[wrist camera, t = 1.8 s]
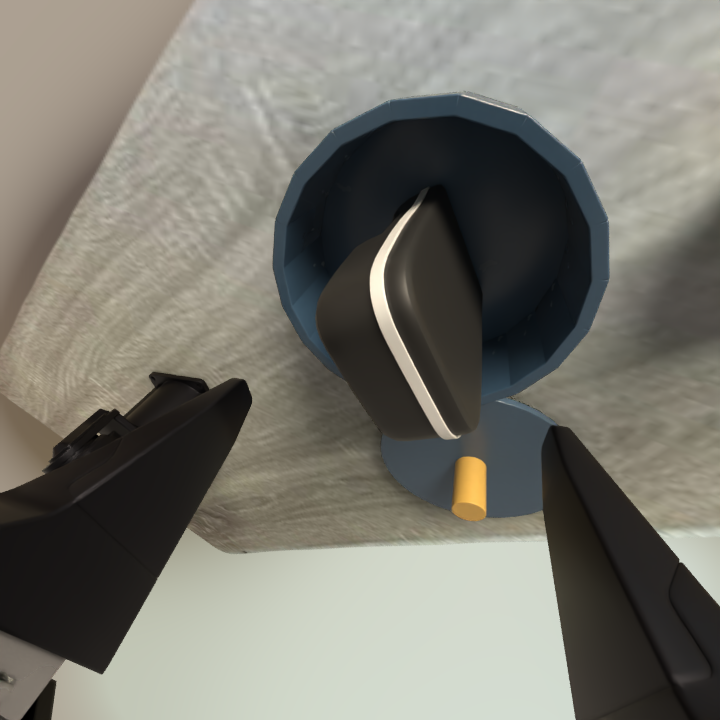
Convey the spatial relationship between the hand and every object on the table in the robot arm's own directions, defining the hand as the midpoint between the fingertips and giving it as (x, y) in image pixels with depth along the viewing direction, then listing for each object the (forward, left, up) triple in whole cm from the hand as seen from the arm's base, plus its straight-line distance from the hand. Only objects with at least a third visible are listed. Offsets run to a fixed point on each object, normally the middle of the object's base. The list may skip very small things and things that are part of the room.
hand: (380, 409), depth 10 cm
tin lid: (+4, -17, -12) cm, 21 cm away
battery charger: (0, 0, -12) cm, 12 cm away
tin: (0, 0, -12) cm, 12 cm away
